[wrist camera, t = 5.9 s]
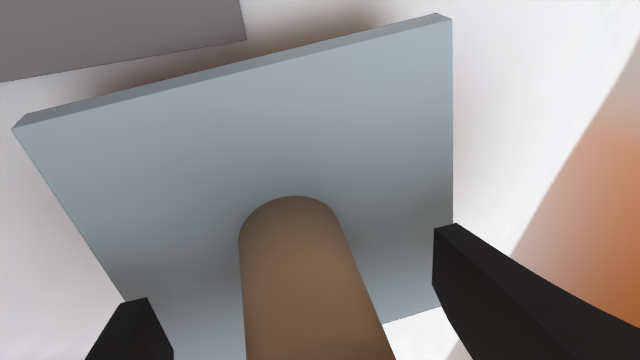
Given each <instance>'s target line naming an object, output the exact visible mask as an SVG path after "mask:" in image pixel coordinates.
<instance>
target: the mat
mask: <svg viewBox="0 0 640 360" xmlns="http://www.w3.org/2000/svg"><path fill="white" fill-rule="evenodd" d="M244 40H247V39H246V34H245V29H244V24H243V20H242V15H241V10H240V5H239V0H0V83H2V82H8V81H13V80H19V79H25V78H31V77H36V76H42V75H48V74H54V73H59V72H65V71H71V70H77V69H82V68H88V67H94V66H100V65H105V64H111V63H117V62H123V61H128V60H134V59H140V58H146V57H151V56H157V55H163V54H169V53H175V52H180V51H186V50H192V49H198V48H203V47H209V46H215V45H221V44H226V43H232V42H238V41H244Z"/></svg>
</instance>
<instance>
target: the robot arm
mask: <svg viewBox="0 0 640 360" xmlns="http://www.w3.org/2000/svg"><path fill="white" fill-rule="evenodd" d="M432 286H433V289H434V291H435V293H436V295H437V297H438V299H439V302H440V304H441V306H442V308H443V310H444V312H445V314H446V316H447V318H448V320H449V322H450V324H451V325H452V327H453V328H454V330H455V332H456V333H457V335H458V337H459V338H460V340H461V341H462V343H463V344H464V346H465V348H466V349H467V351H468V353H469V354H470V356H471V357H472V359H473V360H640V328H638V327H635V326H633V325H631V324H629V323H627V322H625V321H623V320H621V319H619V318H617V317H615V316H612V315H611V314H608V313H606V312H604V311H602V310H600V309H598V308H596V307H594V306H592V305H591V304H588V303H587V302H585V301H583V300H581V299H579V298H577V297H576V296H573V295H572V294H570V293H568V292H566V291H565V290H563V289H561V288H559V287H558V286H555V285H554V284H552V283H551V282H549V281H547V280H545V279H544V278H542V277H540V276H539V275H537V274H535V273H534V272H532V271H530V270H529V269H527V268H525V267H524V266H522V265H520V264H519V263H517V262H516V261H514V260H512V259H511V258H509V257H508V256H506V255H505V254H503V253H502V252H500V251H499V250H497V249H496V248H494V247H492V246H491V245H489V244H488V243H486V242H485V241H483V240H482V239H480V238H479V237H477V236H476V235H474V234H473V233H471V232H470V231H468V230H467V229H465V228H463V227H462V226H460V225H459V224H457V223H454V224H450V225H446V226H441V227H437V228H434V239H433V263H432ZM85 360H174V349H173V348H172V346H171V344H170V342H169V340H168V338H167V336H166V334H165V332H164V330H163V328H162V326H161V324H160V322H159V320H158V318H157V316H156V314H155V312H154V310H153V308H152V306H151V304H150V302H149V300H148V298H147V297H144V298H140V299H136V300H132V301H128V302H124V303H120V305H119V306H118V308H117V309H116V311H115V312H114V314H113V315H112V317H111V318H110V320H109V322H108V323H107V325H106V326H105V328H104V329H103V331H102V333H101V334H100V336H99V337H98V339H97V341H96V342H95V344H94V345H93V347H92V349H91V350H90V352H89V353H88V355H87V356H86V358H85Z"/></svg>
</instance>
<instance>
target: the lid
mask: <svg viewBox="0 0 640 360" xmlns="http://www.w3.org/2000/svg"><path fill="white" fill-rule="evenodd" d="M11 130H12V132H13V133H14V135H15V136H16V138H17V139H18V141H19V142H20V144H21V145H22V147H23V148H24V150H25V151H26V153H27V154H28V156H29V157H30V159H31V160H32V162H33V163H34V165H35V166H36V168H37V169H38V171H39V172H40V174H41V175H42V177H43V178H44V180H45V181H46V183H47V184H48V186H49V187H50V189H51V190H52V192H53V193H54V195H55V196H56V198H57V199H58V201H59V202H60V204H61V205H62V207H63V208H64V210H65V211H66V213H67V214H68V216H69V217H70V219H71V220H72V222H73V223H74V225H75V226H76V228H77V229H78V231H79V232H80V234H81V235H82V237H83V238H84V240H85V241H86V243H87V244H88V246H89V247H90V249H91V250H92V252H93V253H94V255H95V256H96V258H97V259H98V261H99V262H100V264H101V265H102V267H103V269H104V270H105V272H106V273H107V275H108V276H109V278H110V279H111V281H112V282H113V284H114V285H115V287H116V288H117V290H118V291H119V293H120V294H121V296H122V297H123V299H124V300H125V302H128V301H132V300H136V299H140V298H144V297H147V298H148V300H149V302H150V304H151V306H152V308H153V310H154V312H155V314H156V316H157V318H158V320H159V322H160V324H161V326H162V328H163V330H164V332H165V334H166V336H167V338H168V340H169V342H170V344H171V346H172V348H173V349H174V360H396V359H395V356H394V354H393V351H392V349H391V347H390V344H389V342H388V339H387V337H386V335H385V332H384V330H383V327H382V324H385V323H388V322H391V321H395V320H398V319H401V318H404V317H408V316H411V315H414V314H417V313H421V312H424V311H427V310H430V309H434V308H437V307H440V306H441V304H440V302H439V299H438V297H437V295H436V293H435V291H434V289H433V286H432V263H433V239H434V228H437V227H441V226H446V225H450V224H453V130H452V19H450V18H447V17H445V16H442V15H440V14H437V13H434V14H430V15H426V16H422V17H418V18H414V19H410V20H405V21H401V22H397V23H393V24H389V25H385V26H381V27H377V28H373V29H369V30H365V31H361V32H357V33H353V34H349V35H345V36H341V37H337V38H332V39H328V40H324V41H320V42H316V43H312V44H308V45H304V46H300V47H296V48H292V49H288V50H284V51H280V52H276V53H272V54H268V55H263V56H259V57H255V58H251V59H247V60H243V61H239V62H235V63H231V64H227V65H223V66H219V67H215V68H211V69H207V70H203V71H199V72H195V73H190V74H186V75H182V76H178V77H174V78H170V79H166V80H162V81H158V82H154V83H150V84H146V85H142V86H138V87H134V88H130V89H126V90H121V91H117V92H113V93H109V94H105V95H101V96H97V97H93V98H89V99H85V100H81V101H77V102H73V103H69V104H65V105H61V106H57V107H53V108H48V109H44V110H40V111H36V112H32V113H28V114H26V115H24V116H23V117H22V118H21V119H20V120H19V121H18V122H17V123H16V124H15V125H14V126H13V127H12V128H11Z"/></svg>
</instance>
